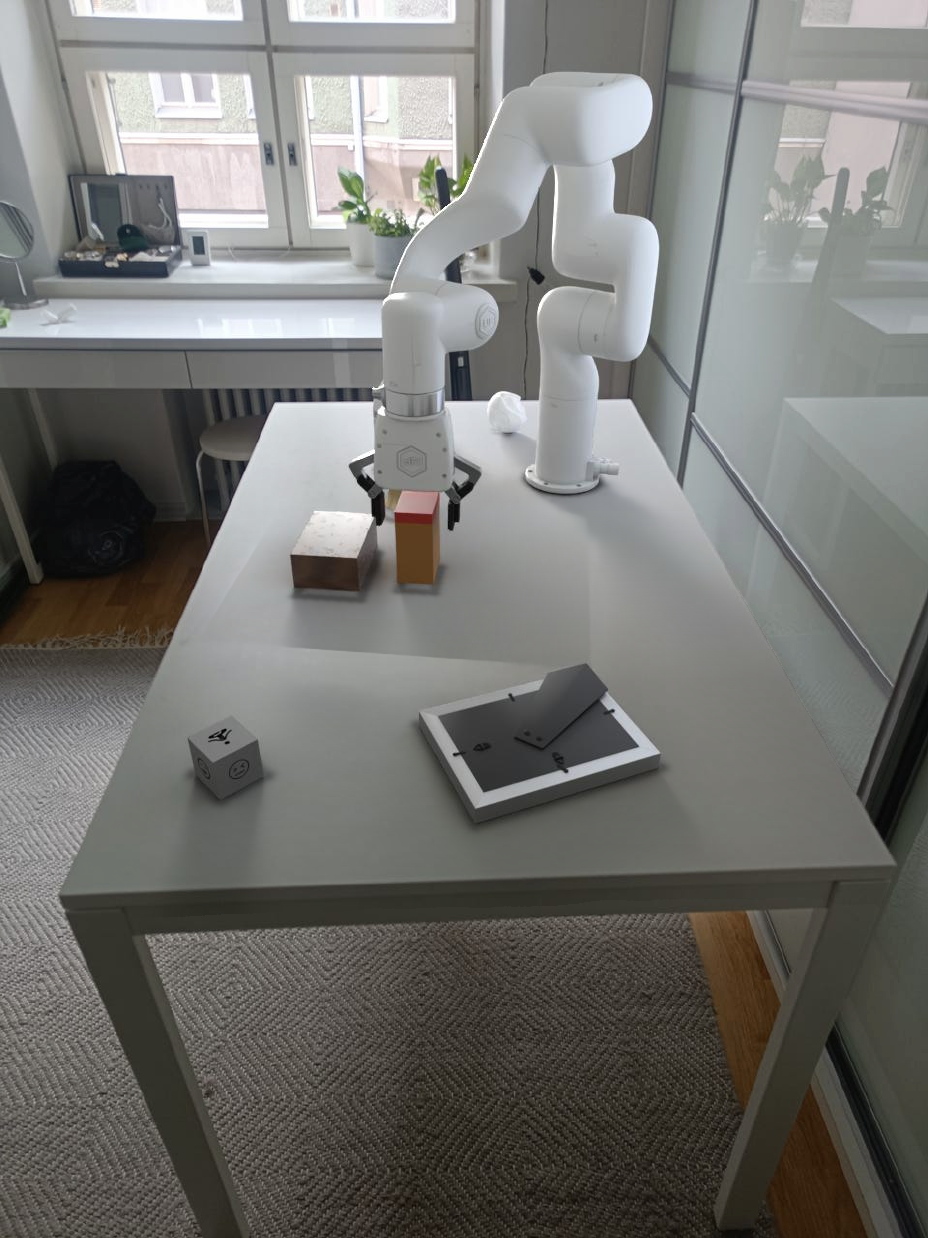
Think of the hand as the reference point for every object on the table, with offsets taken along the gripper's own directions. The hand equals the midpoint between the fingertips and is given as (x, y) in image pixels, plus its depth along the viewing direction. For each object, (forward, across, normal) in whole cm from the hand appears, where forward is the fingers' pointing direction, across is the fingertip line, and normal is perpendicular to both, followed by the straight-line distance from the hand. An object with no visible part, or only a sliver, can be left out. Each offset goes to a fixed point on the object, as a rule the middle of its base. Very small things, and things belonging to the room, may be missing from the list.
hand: (416, 523), depth 117 cm
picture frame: (+9, +18, -32) cm, 38 cm away
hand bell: (+9, -5, +22) cm, 24 cm away
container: (+8, -3, 0) cm, 9 cm away
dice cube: (+10, -13, -40) cm, 44 cm away
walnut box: (+9, -11, 0) cm, 14 cm away
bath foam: (+8, -9, +36) cm, 39 cm away
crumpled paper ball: (+8, +9, +58) cm, 59 cm away
